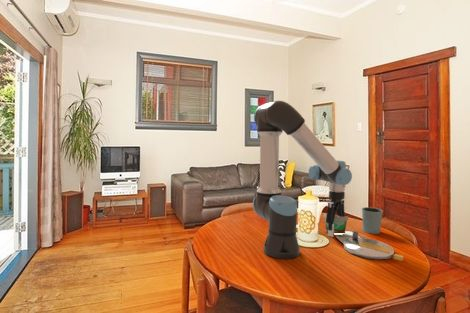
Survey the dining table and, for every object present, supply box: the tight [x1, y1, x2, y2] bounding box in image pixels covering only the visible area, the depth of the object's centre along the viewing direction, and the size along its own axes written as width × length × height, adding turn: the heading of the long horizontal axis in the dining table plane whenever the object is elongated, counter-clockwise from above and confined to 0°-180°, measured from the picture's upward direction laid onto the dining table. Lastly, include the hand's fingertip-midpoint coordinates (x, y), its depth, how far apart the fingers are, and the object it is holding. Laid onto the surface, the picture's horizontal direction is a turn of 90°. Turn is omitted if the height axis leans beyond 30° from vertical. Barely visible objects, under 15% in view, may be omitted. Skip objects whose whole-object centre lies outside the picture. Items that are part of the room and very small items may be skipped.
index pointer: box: [392, 253, 404, 262], centre depth 119 cm, size 3×2×2 cm, turn 46°
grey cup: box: [361, 206, 384, 235], centre depth 155 cm, size 10×10×12 cm
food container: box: [323, 213, 349, 235], centre depth 148 cm, size 12×6×10 cm, turn 68°
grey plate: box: [343, 230, 395, 261], centre depth 127 cm, size 20×20×6 cm
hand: (335, 234), depth 149 cm, fingers open, 9 cm apart
